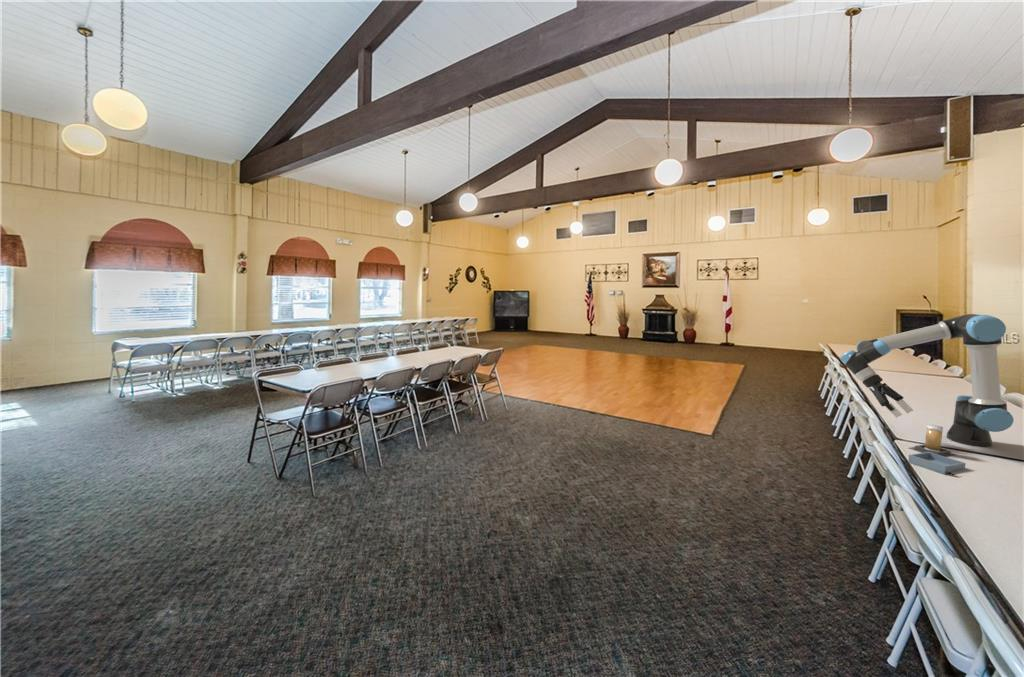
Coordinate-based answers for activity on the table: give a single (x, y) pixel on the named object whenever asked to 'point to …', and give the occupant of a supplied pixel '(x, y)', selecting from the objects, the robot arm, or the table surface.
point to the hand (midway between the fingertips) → (905, 414)
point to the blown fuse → (933, 438)
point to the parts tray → (936, 462)
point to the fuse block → (942, 451)
